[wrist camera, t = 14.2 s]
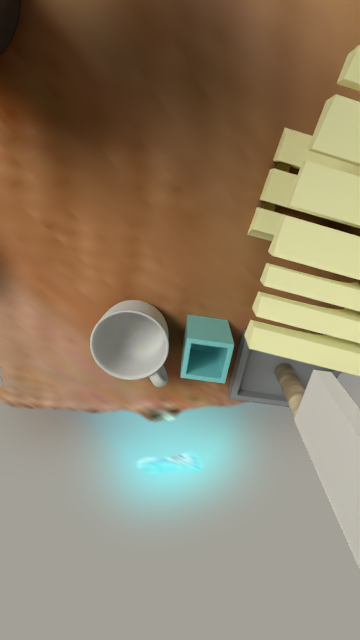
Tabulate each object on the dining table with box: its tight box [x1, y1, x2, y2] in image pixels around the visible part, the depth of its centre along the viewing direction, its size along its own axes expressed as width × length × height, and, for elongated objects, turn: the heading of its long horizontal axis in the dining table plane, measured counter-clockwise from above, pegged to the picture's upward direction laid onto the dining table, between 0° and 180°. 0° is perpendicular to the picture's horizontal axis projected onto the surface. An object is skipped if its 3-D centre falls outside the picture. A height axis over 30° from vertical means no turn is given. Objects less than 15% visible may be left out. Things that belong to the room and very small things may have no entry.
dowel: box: [274, 363, 305, 418], centre depth 42 cm, size 3×3×16 cm
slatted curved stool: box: [244, 45, 360, 376], centre depth 31 cm, size 30×16×18 cm, turn 165°
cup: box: [180, 315, 234, 383], centre depth 44 cm, size 6×6×8 cm
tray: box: [228, 329, 340, 407], centre depth 49 cm, size 16×12×3 cm
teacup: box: [90, 300, 169, 387], centre depth 45 cm, size 14×11×8 cm
